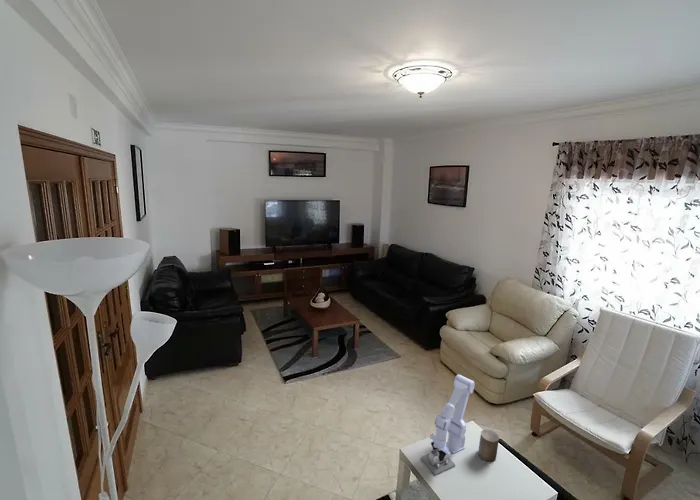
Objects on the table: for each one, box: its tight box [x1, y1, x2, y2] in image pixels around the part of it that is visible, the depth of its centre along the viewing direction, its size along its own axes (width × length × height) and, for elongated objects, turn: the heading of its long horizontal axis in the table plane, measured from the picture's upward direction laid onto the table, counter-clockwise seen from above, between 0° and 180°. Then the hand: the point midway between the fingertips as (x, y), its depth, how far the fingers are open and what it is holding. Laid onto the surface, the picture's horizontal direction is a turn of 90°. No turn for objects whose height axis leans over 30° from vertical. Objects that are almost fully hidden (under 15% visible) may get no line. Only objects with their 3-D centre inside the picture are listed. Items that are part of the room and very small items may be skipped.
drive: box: [428, 448, 449, 466], centre depth 193 cm, size 10×4×6 cm, turn 117°
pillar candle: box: [477, 428, 500, 463], centre depth 198 cm, size 10×10×15 cm
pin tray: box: [420, 453, 456, 476], centre depth 193 cm, size 14×12×3 cm
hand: (438, 457), depth 193 cm, fingers closed on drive, 4 cm apart
